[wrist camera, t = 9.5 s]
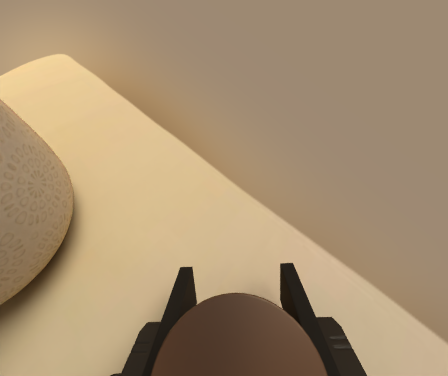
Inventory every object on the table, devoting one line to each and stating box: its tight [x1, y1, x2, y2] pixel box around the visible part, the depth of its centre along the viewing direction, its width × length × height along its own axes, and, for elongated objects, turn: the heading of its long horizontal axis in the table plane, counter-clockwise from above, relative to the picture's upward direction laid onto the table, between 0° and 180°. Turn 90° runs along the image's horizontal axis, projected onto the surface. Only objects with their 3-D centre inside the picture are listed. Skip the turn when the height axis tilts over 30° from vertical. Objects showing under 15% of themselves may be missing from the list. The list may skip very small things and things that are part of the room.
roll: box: [151, 293, 328, 376], centre depth 11 cm, size 6×6×10 cm
